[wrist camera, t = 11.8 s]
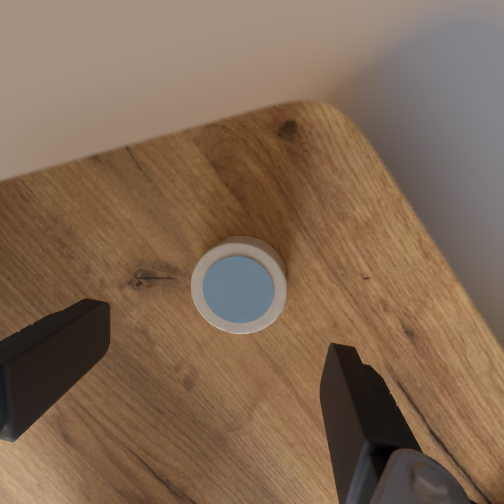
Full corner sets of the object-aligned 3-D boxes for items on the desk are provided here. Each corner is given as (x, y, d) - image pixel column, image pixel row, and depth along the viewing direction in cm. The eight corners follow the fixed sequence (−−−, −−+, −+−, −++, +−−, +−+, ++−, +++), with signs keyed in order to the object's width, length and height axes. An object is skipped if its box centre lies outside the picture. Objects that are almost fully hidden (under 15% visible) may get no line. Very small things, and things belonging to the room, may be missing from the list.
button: (225, 218, 15) (216, 223, 13) (303, 263, 15) (306, 275, 13) (187, 290, 16) (174, 305, 14) (259, 331, 16) (256, 351, 14)
